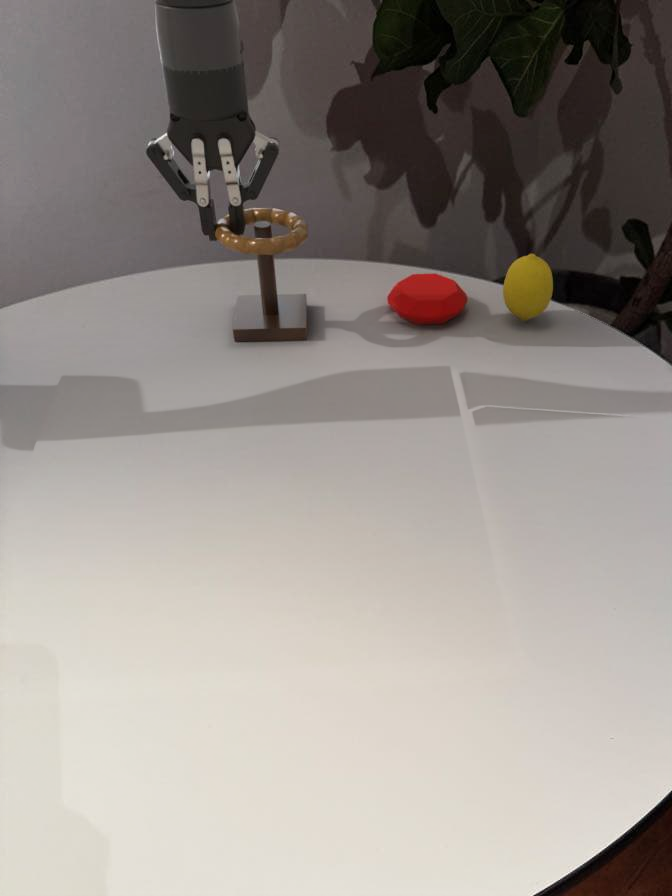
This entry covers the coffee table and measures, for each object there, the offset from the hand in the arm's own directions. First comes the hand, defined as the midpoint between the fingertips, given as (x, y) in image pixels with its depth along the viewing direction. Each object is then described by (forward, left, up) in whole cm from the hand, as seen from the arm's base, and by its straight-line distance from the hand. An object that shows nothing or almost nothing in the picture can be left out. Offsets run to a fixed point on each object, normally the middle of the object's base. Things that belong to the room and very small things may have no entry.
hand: (225, 237), depth 92 cm
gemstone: (+22, +2, -10) cm, 24 cm away
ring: (+4, 0, +1) cm, 4 cm away
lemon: (+33, -1, -10) cm, 35 cm away
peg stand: (+4, 0, -10) cm, 11 cm away
